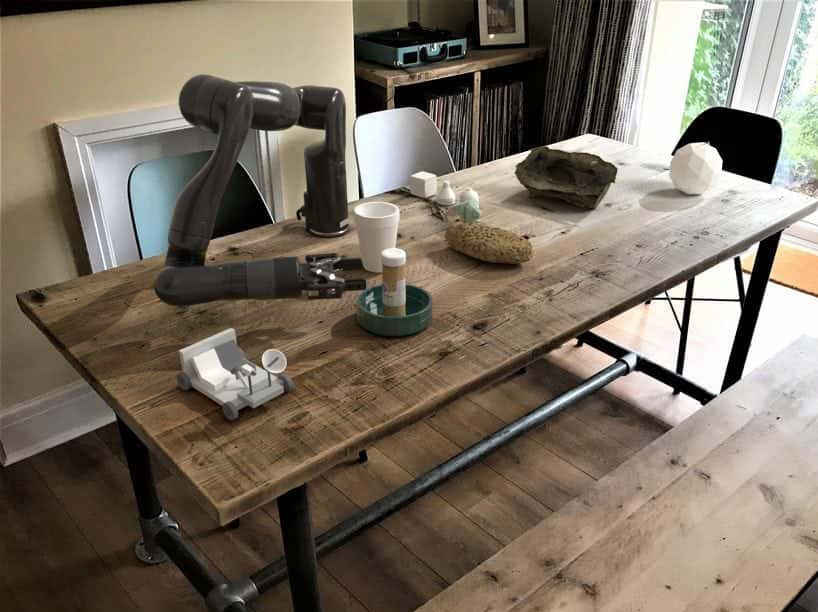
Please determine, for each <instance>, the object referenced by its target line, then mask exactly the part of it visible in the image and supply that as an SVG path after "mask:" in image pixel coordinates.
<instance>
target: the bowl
mask: <svg viewBox="0 0 818 612" xmlns="http://www.w3.org/2000/svg"><path fill="white" fill-rule="evenodd" d="M405 295H406V301H405V313H406V316H398V317H395V316H382V314H383V301H382V283H380V284H376V285H373V286H370V287H367V288H366V289H365V290H362V291H361V292H360V293H359V294H358V295H357V298H356V318H357V321H358V324H359V325H360V326H361V327H362V328H363V329H365V330H367V331H369V332H370V333H371V332H372V333H373V334H376V335H379V336H385V337H405V336H409V335H413V334H416V333H418V332H420V331H422V330H423V329H425V328H427V327H429V325H430V324H431V323H432V321H433V315H434V314H433V308H434V306H433V305H434V304H433V303H434V298H433V296H432V295H431V293H430V292H429V291H428V290H426V289H424V288H423V287H420V286H417V285H415V284H410V283H405Z"/></svg>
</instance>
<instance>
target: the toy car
mask: <svg viewBox="0 0 818 612" xmlns="http://www.w3.org/2000/svg"><path fill="white" fill-rule="evenodd" d="M236 336H237V335H236V330H235V329H234V328H232V327H230V328H228V329H225V330H223V331H221V332H219V333H216V334H214V335H211V336H209V337H207V338H205V339H201V340H200V341H198V342H195V343H193V344H191V345H188V346H185V347H183V348H182V349H179V350H178V353H179V358H180V362H181V363H180V364H181V369H182V371H181V372H179V373H177V375H176V382H177V383H178V385H179V387H180V388H181V389H182V390H183V391H188V390H190V389H191V388H194V389H196V390H197V391H198V392H200V393H202V394H203V395H205V396H206V397H208V398H209V399H211V400H212V401H214V402H216V403H217V404H219V405H220V406H222V412H223V414H224V416H225V417H226V418H227V420H229V421H235V420H237V418H238V417H239V410H241V409H243V408H245V407H247V406H248V407H250V408H252V409H255V408H257V407H259V406H260V405H263V404H265V403H267V402H269V401H270V400H272V399H274V398H276V397H278V396H280V395H281V394H283V393H285V392H286V393H288V392H289V391H291V390H293V388H294V383H293V380H292V379H291V377H290V376H289V374H287V373H283V371H285V369H286V368H287V357H286V356H285V355H284V353H283V352H281V351H280V350H278V349H277V348H276V349H275V348H270V349H267V350H265V351H264V353H263V354H262V356H261V364H262V367H263V368H262V367H260V366H258V365H257V364H254V363H253V362H251V361H250V360H248V359H247V358H246V354H245V352H244V350H243V349H242V348H240V347H239V346H238V344H237V342H238V341H237V337H236ZM280 373H281V374H280ZM274 374H279V375H278V376H276V375H274Z"/></svg>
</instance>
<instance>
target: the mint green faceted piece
mask: <svg viewBox="0 0 818 612" xmlns="http://www.w3.org/2000/svg"><path fill="white" fill-rule="evenodd" d="M478 206H479V205H478ZM478 206H477V204H476V203H475V202H474V201H472V200H467V201H465V202H463V203H460V204H459V203H456V204H453V206H452V208H453V209H454V210H455V211H456V212H457V214H458V216H459V218H460V221H461V223H469V224H471V223H473V224H476V221H477V220H478V219H479V218H480V217H481V216H482V215H483V211H482V209H480V207H479V208H478Z"/></svg>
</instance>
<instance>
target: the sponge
mask: <svg viewBox="0 0 818 612" xmlns="http://www.w3.org/2000/svg"><path fill="white" fill-rule="evenodd" d="M444 237H445V240H446V242H447V245H448V246H450V248H451V249H453V250H455V251H457V252H459V253H462V254H464V255H466V256H468V257H472V258H474V259H476V260H480V261H483V262H489V263H494V264H510V265H511V264H513V265H514V264H519V263H520V264H522V263H528V262H530V261H531V260H532V259H533V258H534V256H535V254H534V250H533V245H532V242H531V241H530V240H528V239H526V238H525V237H523V236H522V235H519V234H516V233H514V232H511V231H509V230H507V229H503V228H500V227H493V226H487V225H480V224H479V225H478V224H476V223H474V224H473V223H471V224H469V223H462V221H461V222H460V221H457V222H455V223H452V224H451V225H450V226H449V227H447V228H446V230H445V234H444Z"/></svg>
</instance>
